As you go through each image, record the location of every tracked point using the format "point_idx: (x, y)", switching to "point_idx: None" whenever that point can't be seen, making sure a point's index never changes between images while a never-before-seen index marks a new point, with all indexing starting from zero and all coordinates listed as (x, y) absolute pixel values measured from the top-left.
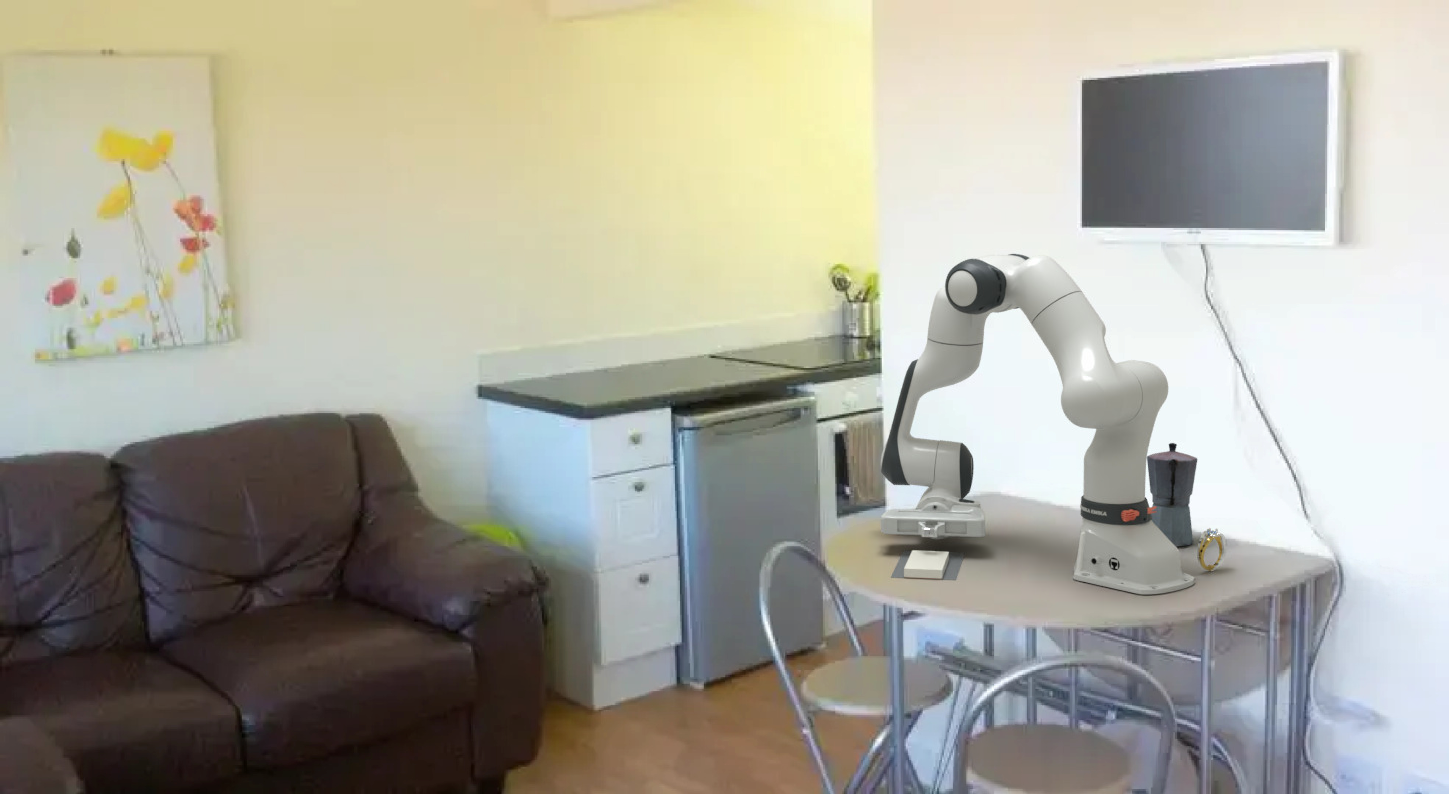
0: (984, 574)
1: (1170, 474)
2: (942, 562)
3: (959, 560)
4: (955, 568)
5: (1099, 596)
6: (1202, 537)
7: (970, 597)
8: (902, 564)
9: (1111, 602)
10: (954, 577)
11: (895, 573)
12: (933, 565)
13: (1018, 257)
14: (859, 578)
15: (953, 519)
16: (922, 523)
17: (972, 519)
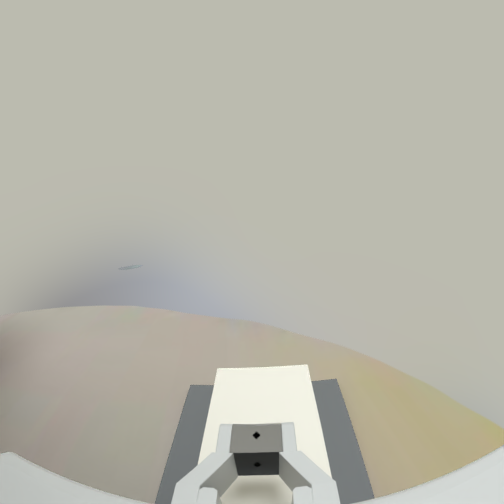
0: (115, 436)
1: None
2: (214, 412)
3: None
4: (180, 455)
5: (21, 341)
6: None
7: (178, 338)
8: (347, 466)
9: (25, 329)
10: (191, 397)
11: (336, 401)
12: (239, 391)
13: None
14: (399, 375)
15: (114, 494)
16: (307, 479)
17: (30, 463)
